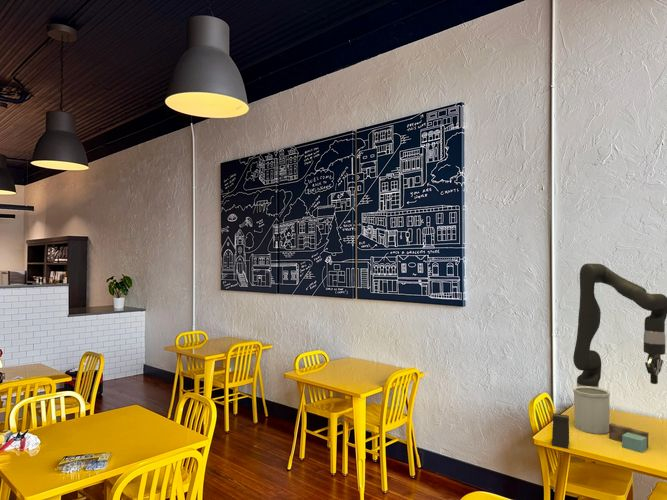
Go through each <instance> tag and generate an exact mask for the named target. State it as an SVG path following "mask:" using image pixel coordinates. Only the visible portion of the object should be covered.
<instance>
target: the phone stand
mask: <svg viewBox="0 0 667 500" xmlns="http://www.w3.org/2000/svg"><path fill="white" fill-rule="evenodd" d="M551 435H552V436H551V437H552V439H551V442H552V443H551V446H552V447H558V448H562V449H569V445H570V415H568V414H561V413H555V412H553V413H552V434H551Z"/></svg>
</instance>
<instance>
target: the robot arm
mask: <svg viewBox="0 0 667 500" xmlns="http://www.w3.org/2000/svg"><path fill="white" fill-rule="evenodd" d="M600 283H601V284H605V285H607V286H610V287H612V288H613V289H614V290H615V291H616V292H617V293H618V294H619V295H621V296H622V297H624V298H626V299H628V300H630V301H633V302H634V303H635V304H636V305H637V306H639V307H640V308H641V309H643V310H645V311H649V312H650V315H648V316H646V317H645V318H644V324H643V325H644V330H643V331H644V333H643V352H644V354H647V358H646V361H647V362H644V365H645V368H646V371H647V374H649V375H650V378H649V380H650V384H653V385H658V383H659V382H658V381H659V379H658V378H659V374H660V373H661V371H662V367H663V364H664V360H663V359H662V358H661V356H663V355H665V354H666V331H665V330H666V329H665V328H666V327H665V326H666V319H667V296H666V295H665V294H662V293H648V292H647V289H646V288H644V287H643V286H641V285H639V284H637V283H634V282H632V281H630V280H628V279H625V278H624V277H623V276H621V275H619V274H617V273H615V272H614V271H613V270H611V269H610V268H608V267H607V266H606V265H604V264H602V263H585V264H583V265H582V266H581V267H580V270H579V293H580V294H579V309H578V317H577V318H578V319H577V320H578V321H577V333H576V341H575V345H574V346H575V347H574V350H573V358H572V359H573V360H572V361H573V365H574V367H575V368H576V369H577V370H579V371H582V372H581V374H579V375H578V376H577V377H576V387H579V386H589V387H597V388H600V387H599V386H600V385H599V383H600V381H601V376H602V358H601V356H600V354H599V353H598V352H597V351H595V350H592V349H591V344H592V341H593V339H594V337H595V335H596V334H597V331H598V330H599V328H600V325H601V317H602V316H601V315H602V312H601V307H600V305H599V303H598V300H597V299H596V294H595V285H596V284H600Z"/></svg>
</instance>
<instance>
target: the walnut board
mask: <svg viewBox="0 0 667 500" xmlns="http://www.w3.org/2000/svg"><path fill="white" fill-rule="evenodd" d="M627 432H629V433H632V434H636V435H640V436H644V437H647V449H648V448H649V432H646V431H643V430H638V429H635V428H632V427H628V426H623V425H621V424H616V423H609V432H608V439H610V440H614V441H617V442H621V443H622V435H624V434H625V433H627Z"/></svg>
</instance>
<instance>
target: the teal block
mask: <svg viewBox="0 0 667 500" xmlns="http://www.w3.org/2000/svg"><path fill="white" fill-rule="evenodd" d="M621 447H622V448H623V449H626V450H630V451H633V452H637V453H640V454H641V453H643V452H645V451H646V450H648V448H647V437H644V436H640V435H636V434H632V433H629V432H627V433H625V434H624V435H622V442H621Z"/></svg>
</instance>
